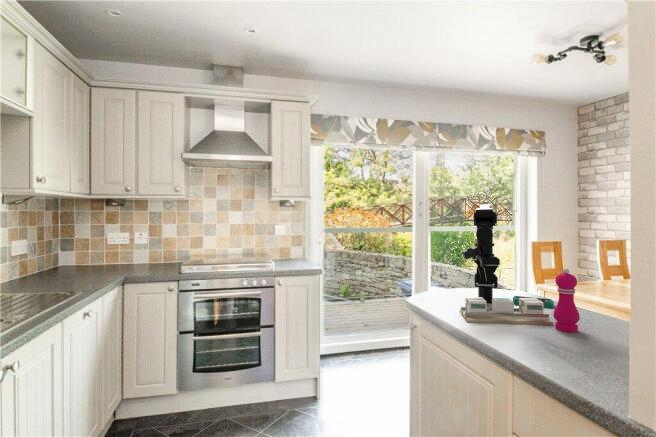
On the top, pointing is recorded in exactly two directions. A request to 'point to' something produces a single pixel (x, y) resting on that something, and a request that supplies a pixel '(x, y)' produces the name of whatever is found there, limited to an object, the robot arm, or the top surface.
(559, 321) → the pepper mill
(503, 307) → the block
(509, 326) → the top surface
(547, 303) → the digital multimeter
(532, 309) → the rail panel
